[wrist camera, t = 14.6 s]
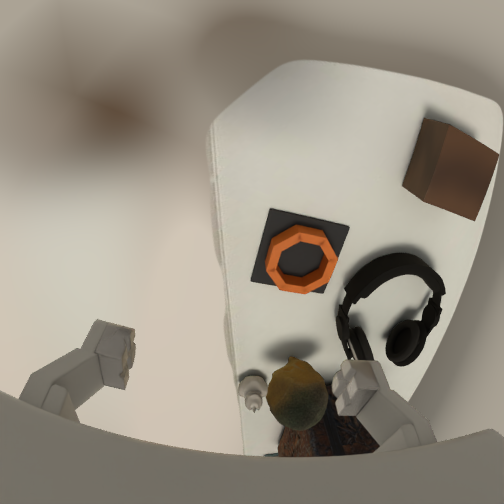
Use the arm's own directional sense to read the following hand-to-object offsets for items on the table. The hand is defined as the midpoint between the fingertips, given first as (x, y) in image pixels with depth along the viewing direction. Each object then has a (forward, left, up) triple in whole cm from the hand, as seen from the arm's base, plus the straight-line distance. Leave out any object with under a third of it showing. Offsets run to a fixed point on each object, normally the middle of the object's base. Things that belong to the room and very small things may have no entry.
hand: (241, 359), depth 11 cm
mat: (+10, +10, -29) cm, 32 cm away
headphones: (+16, +27, -29) cm, 43 cm away
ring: (+10, +10, -29) cm, 32 cm away
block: (-8, +26, -29) cm, 40 cm away
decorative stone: (+30, +15, -29) cm, 45 cm away
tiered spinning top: (+38, +10, -29) cm, 49 cm away
